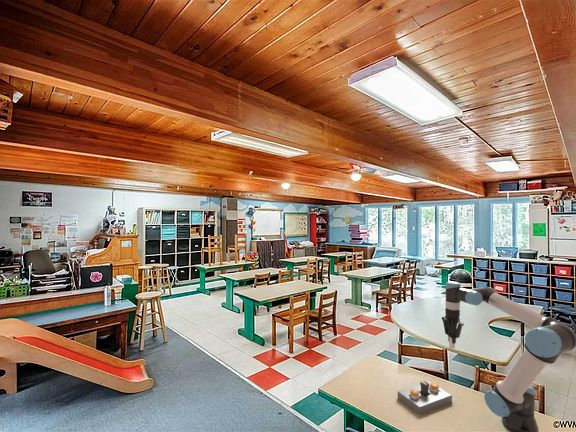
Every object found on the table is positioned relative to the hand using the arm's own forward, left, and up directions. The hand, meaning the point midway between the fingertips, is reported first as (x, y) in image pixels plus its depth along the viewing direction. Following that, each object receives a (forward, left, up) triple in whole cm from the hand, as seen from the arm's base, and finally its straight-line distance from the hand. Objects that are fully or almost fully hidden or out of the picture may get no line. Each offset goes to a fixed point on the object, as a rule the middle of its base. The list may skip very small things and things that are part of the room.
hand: (451, 348), depth 178 cm
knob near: (+6, +23, -30) cm, 38 cm away
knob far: (+6, +7, -30) cm, 32 cm away
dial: (+6, +15, -27) cm, 32 cm away
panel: (+6, +15, -30) cm, 34 cm away
